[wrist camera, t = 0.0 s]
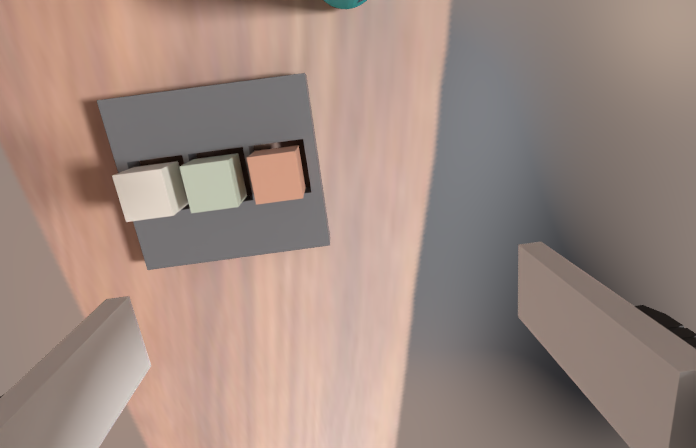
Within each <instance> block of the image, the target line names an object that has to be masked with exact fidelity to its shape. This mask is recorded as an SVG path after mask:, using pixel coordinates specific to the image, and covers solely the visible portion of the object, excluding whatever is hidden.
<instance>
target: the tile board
mask: <svg viewBox="0 0 696 448" xmlns="http://www.w3.org/2000/svg"><path fill="white" fill-rule="evenodd" d="M97 103H98V107H99V110H100V113H101V117H102V120H103V123H104V127H105V130H106V133H107V137H108V140H109V143H110V147H111V150H112V153H113V157H114V160H115V163H116V167H117V170H118V173H120V172H122V171H125V170H128V169H130V168H133V167H138V166H141V164H140V161H141V160H148V159H156V158H163V157H171V156H178V155H182V157H183V161H184V164H185V163H187V162H189V161H191V160H193V159H198V157H197V153H201V152H208V151H216V150H223V149H231V148H238V147H243V151H244V156H245V161H246V166H247V171H248V176H249V181H250V186H251V190H252V195H247V197H246V198H245V199H244V200H243V202H242V203H241V204H240V206H239V207H235V208H228V209H220V210H213V211H205V212H198V213H191V211H190V207H189V204H188V205H186V206H185V207H184V208H183V209H181V210H180V211H179V212H178V213H176V214H175V215H174V216H168V217H161V218H153V219H146V220H138V221H133V223H134V226H135V230H136V233H137V236H138V240H139V243H140V246H141V250H142V253H143V256H144V260H145V263H146V266H147V270H151V269H159V268H166V267H173V266H181V265H188V264H196V263H203V262H210V261H218V260H225V259H232V258H240V257H247V256H255V255H262V254H269V253H277V252H284V251H291V250H299V249H306V248H314V247H321V246H328V245H330V234H329V227H328V220H327V213H326V207H325V200H324V193H323V186H322V180H321V173H320V166H319V159H318V152H317V146H316V139H315V132H314V125H313V119H312V112H311V105H310V98H309V92H308V85H307V78H306V74H305V73H302V74H294V75H287V76H279V77H271V78H264V79H256V80H249V81H241V82H233V83H226V84H218V85H211V86H203V87H195V88H188V89H180V90H173V91H165V92H157V93H150V94H142V95H135V96H127V97H119V98H112V99H104V100H97ZM298 139H303V141H304V147H305V154H306V160H307V167H308V173H309V179H310V186H311V187H306V188H305V192H304V197H303V198H302V199H295V200H287V201H280V202H272V203H265V204H257V205H256V202H255V197H254V192H253V187H252V182H251V177H250V172H249V167H248V162H247V157H248V156H249V155H250V154H252V153H253V152H254V146H253V145H261V144H268V143H276V142H283V141H291V140H298Z"/></svg>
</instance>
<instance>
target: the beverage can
mask: <svg viewBox="0 0 696 448" xmlns="http://www.w3.org/2000/svg"><path fill="white" fill-rule="evenodd" d="M324 1H325V2H326V3H328V4H329V5H331V6H333V7H336V8H340V9H351V8H355V7H357V6H359V5H361V4H363V3H364V2H365V1H367V0H324Z"/></svg>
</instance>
